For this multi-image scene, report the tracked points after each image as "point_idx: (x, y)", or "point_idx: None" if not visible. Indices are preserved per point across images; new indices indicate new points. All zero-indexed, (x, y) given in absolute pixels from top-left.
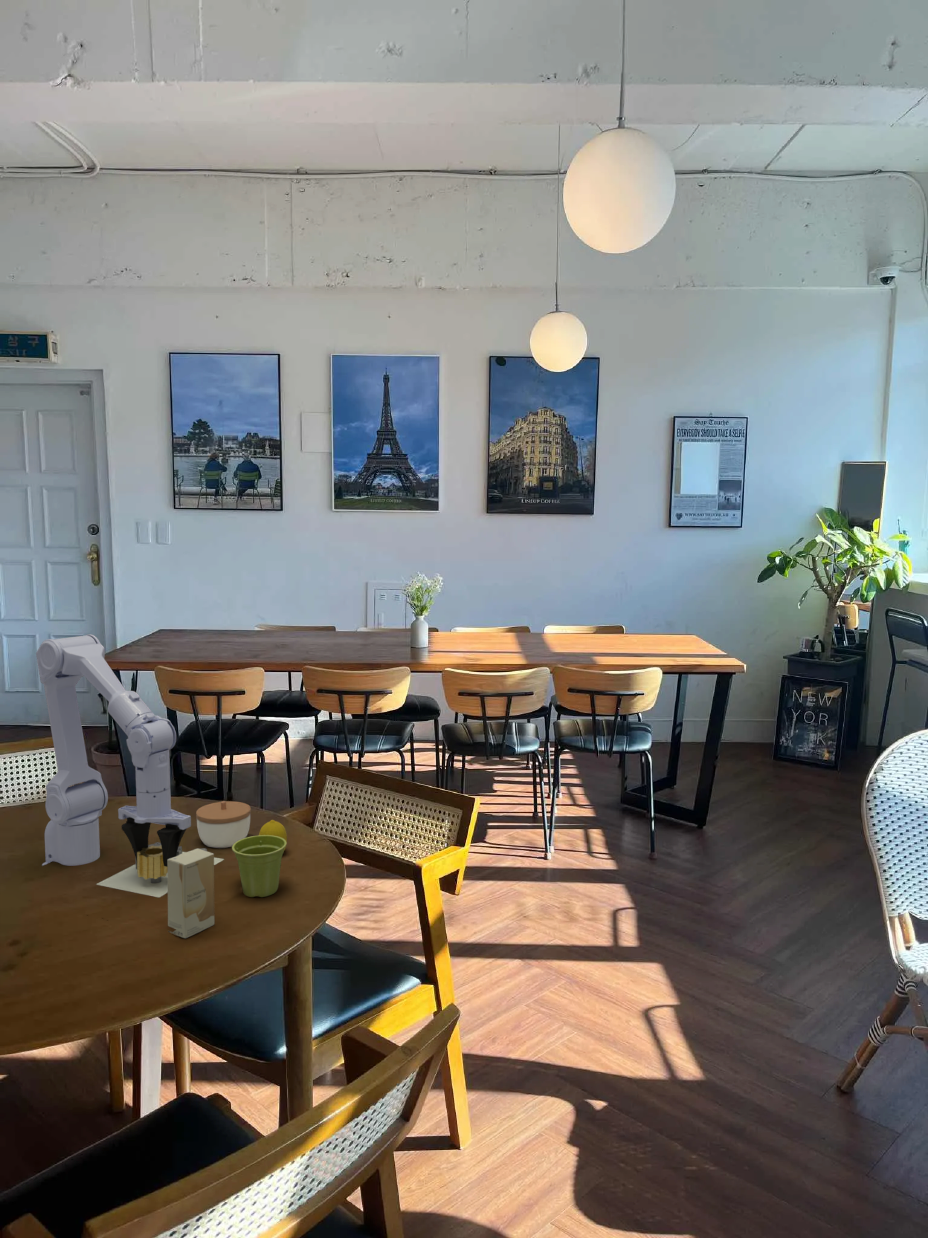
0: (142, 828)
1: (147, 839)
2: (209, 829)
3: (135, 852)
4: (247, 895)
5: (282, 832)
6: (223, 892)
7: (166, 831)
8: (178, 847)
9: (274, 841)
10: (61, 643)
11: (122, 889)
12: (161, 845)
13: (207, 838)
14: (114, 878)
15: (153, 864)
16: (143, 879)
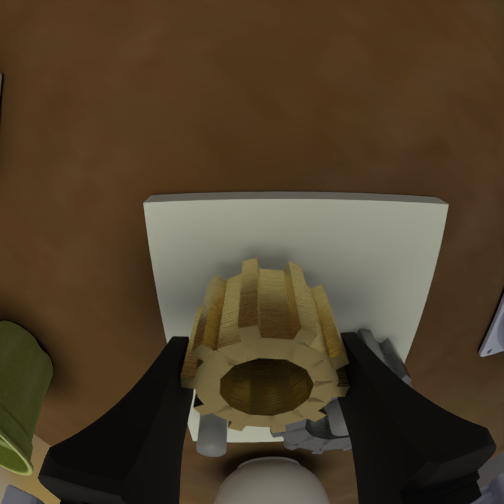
0: (376, 482)
1: (351, 437)
2: (267, 501)
3: (366, 356)
4: (11, 323)
5: None
6: (67, 327)
7: (56, 486)
8: (294, 444)
9: (4, 456)
10: None
11: (335, 200)
12: (154, 413)
13: (275, 480)
14: (418, 264)
15: (219, 319)
16: None
